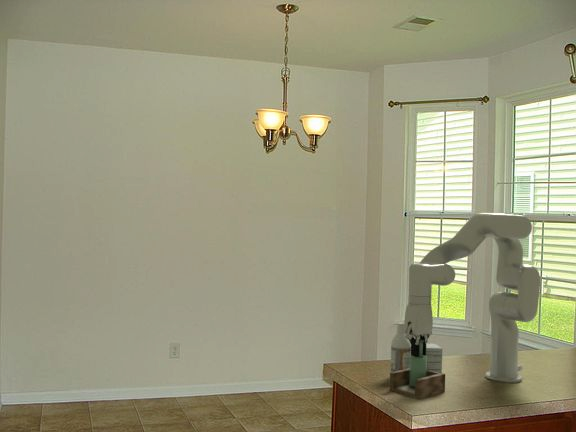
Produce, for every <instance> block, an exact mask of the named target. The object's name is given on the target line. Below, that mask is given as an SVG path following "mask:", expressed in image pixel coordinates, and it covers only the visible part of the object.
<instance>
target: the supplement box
mask: <svg viewBox="0 0 576 432" xmlns="http://www.w3.org/2000/svg"><path fill="white" fill-rule="evenodd" d="M425 356H427V370H431V371H435V372H439V373H442V372H443V370H442V369H443V368H442V367H443V348H442V347H441V346H439V345H438V344H436V343H426V355H425Z"/></svg>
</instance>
